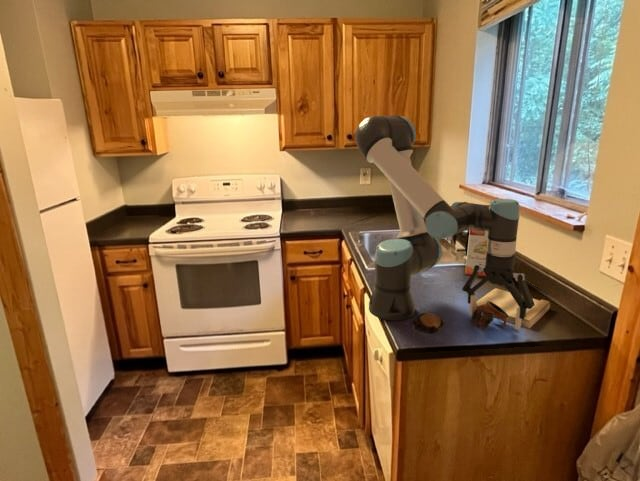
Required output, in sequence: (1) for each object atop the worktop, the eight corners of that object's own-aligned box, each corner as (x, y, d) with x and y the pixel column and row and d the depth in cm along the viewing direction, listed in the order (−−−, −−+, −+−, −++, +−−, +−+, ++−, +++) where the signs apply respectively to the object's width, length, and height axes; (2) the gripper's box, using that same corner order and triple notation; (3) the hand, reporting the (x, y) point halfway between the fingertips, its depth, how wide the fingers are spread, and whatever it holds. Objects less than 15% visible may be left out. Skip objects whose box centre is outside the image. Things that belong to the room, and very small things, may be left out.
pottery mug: (470, 316, 127) (486, 296, 125) (496, 335, 124) (513, 315, 121) (464, 323, 117) (480, 301, 115) (492, 344, 113) (510, 323, 111)
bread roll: (420, 315, 128) (421, 305, 127) (446, 322, 124) (447, 311, 123) (408, 329, 120) (409, 319, 119) (436, 337, 115) (437, 326, 114)
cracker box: (465, 275, 160) (469, 225, 154) (465, 269, 165) (470, 221, 159) (502, 279, 155) (509, 228, 149) (501, 273, 160) (507, 224, 154)
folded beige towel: (472, 309, 131) (472, 302, 130) (494, 293, 142) (495, 286, 142) (529, 328, 118) (530, 320, 117) (549, 308, 130) (550, 301, 129)
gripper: (453, 248, 119) (449, 312, 124) (543, 265, 101) (534, 339, 107) (465, 242, 124) (461, 304, 129) (552, 258, 106) (543, 329, 112)
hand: (494, 320), depth 118 cm, fingers open, 13 cm apart
